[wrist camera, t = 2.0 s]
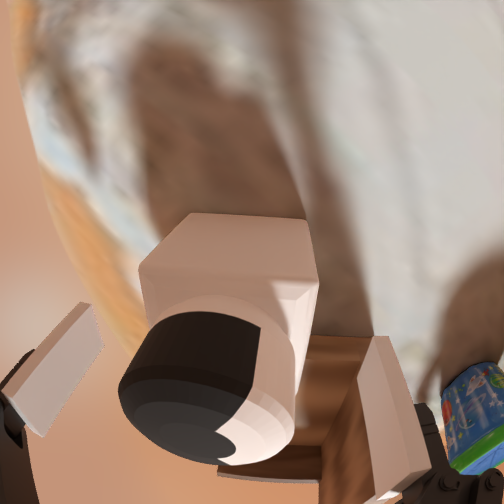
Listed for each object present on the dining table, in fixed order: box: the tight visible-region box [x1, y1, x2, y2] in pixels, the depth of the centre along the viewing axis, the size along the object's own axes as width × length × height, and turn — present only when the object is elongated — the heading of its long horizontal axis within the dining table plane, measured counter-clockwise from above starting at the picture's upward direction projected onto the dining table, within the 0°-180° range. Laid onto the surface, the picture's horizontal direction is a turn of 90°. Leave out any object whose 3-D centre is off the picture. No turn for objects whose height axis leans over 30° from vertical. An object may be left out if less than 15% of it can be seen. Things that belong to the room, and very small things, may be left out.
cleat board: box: [217, 335, 390, 504], centre depth 18 cm, size 14×12×12 cm
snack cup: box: [441, 362, 504, 475], centre depth 17 cm, size 16×10×10 cm
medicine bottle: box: [118, 213, 319, 465], centre depth 13 cm, size 7×7×12 cm
